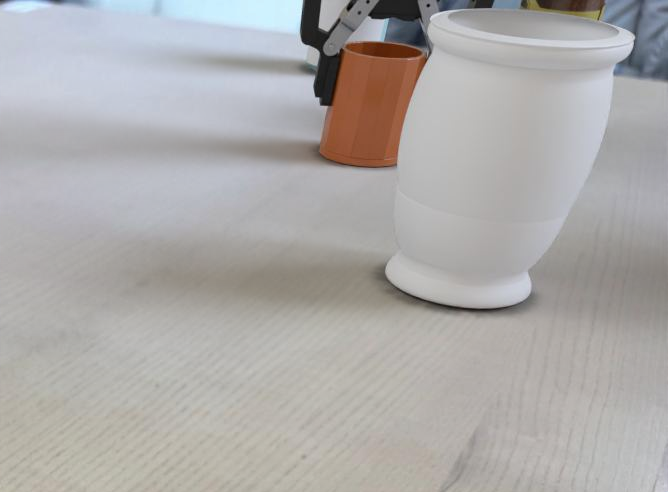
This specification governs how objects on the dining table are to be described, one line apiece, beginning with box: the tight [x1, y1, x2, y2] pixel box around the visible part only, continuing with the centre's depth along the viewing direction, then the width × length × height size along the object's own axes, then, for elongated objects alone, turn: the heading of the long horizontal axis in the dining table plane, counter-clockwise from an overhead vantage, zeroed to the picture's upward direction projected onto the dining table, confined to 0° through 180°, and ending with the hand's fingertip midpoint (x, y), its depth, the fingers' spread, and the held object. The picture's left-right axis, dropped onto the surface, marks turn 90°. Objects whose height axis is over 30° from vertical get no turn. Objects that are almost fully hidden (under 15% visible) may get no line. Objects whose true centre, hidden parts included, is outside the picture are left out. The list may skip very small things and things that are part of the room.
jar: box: [384, 7, 636, 309], centre depth 70 cm, size 11×10×15 cm
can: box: [305, 0, 390, 72], centre depth 118 cm, size 7×7×12 cm
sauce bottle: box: [518, 0, 606, 22], centre depth 98 cm, size 7×6×20 cm
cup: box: [318, 41, 428, 168], centre depth 95 cm, size 6×6×8 cm
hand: (371, 106), depth 95 cm, fingers closed on cup, 6 cm apart
